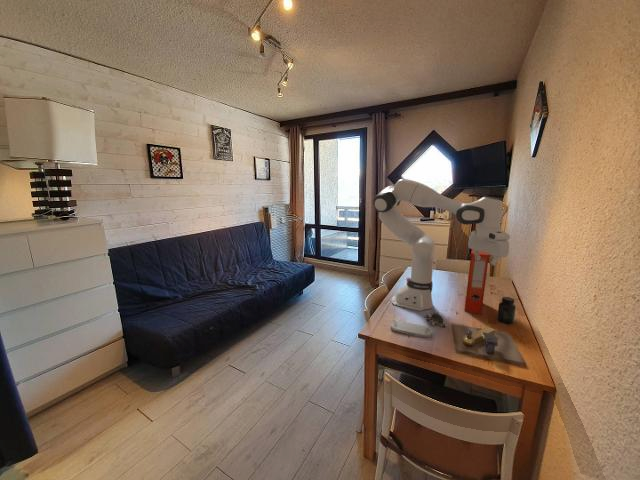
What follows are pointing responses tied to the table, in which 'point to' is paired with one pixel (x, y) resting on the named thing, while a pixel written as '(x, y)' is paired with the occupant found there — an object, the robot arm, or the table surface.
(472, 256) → the file binder
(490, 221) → the robot arm
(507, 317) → the supplement bottle
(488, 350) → the keeper hook
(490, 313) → the table surface
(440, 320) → the eagle figurine
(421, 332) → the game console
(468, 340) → the brass link
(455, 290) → the table surface
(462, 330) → the walnut base plate
